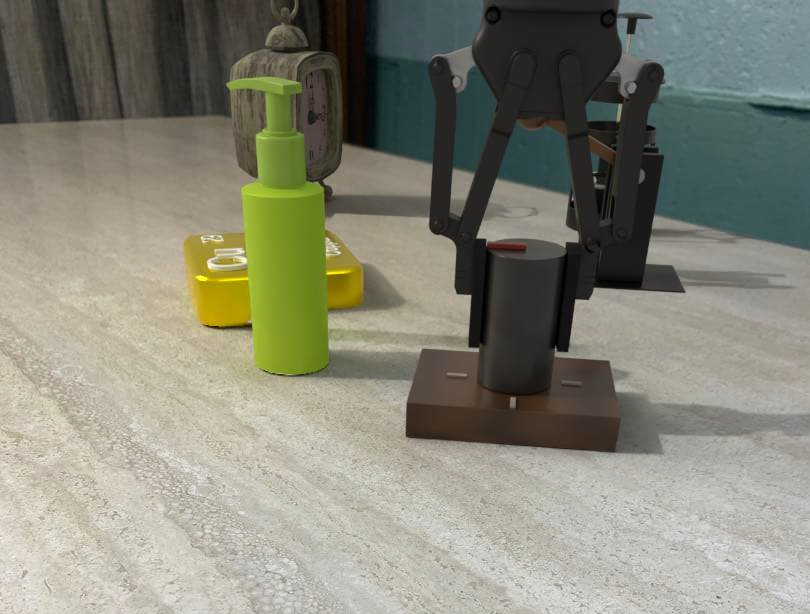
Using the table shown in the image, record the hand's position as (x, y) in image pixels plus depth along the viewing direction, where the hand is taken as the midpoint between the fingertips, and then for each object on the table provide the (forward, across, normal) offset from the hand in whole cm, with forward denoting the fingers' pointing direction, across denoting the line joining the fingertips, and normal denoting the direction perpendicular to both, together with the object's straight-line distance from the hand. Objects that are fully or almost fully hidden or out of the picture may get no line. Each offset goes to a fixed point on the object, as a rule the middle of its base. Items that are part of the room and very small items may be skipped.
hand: (517, 342), depth 59 cm
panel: (+5, 0, 0) cm, 5 cm away
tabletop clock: (+5, +27, -61) cm, 67 cm away
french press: (+5, -12, -52) cm, 53 cm away
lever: (-7, -6, -32) cm, 33 cm away
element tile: (+5, +22, -23) cm, 32 cm away
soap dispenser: (+5, +18, -8) cm, 20 cm away
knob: (+3, 0, 0) cm, 3 cm away
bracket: (+5, -12, -32) cm, 34 cm away
